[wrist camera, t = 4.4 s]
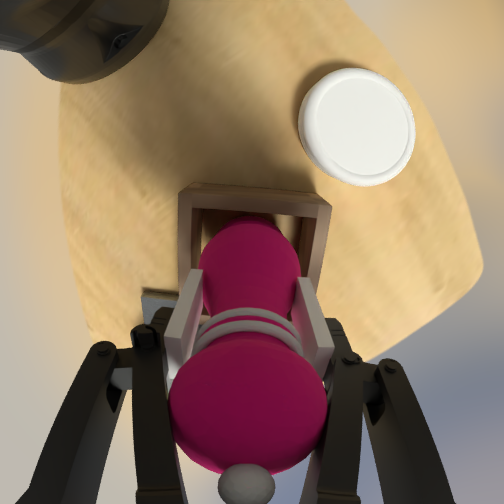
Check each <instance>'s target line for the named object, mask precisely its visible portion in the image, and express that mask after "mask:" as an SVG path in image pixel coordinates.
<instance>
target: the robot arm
mask: <svg viewBox="0 0 504 504" xmlns="http://www.w3.org/2000/svg"><path fill="white" fill-rule="evenodd" d="M168 5H169V0H0V49H1V50H7V51H12V52H17V53H20V54H21V55H22V56H23V57H24V58H25V59H27V60H28V61H29V62H30V63H31V64H32V65H33V66H34V67H36V68H37V69H38V70H39V71H40V72H41V73H42V74H43V75H44V76H46V77H47V78H49V79H52V80H55V81H59V82H64V83H68V84H84V83H89V82H93V81H96V80H99V79H101V78H104V77H106V76H108V75H110V74H112V73H113V72H115V71H117V70H118V69H120V68H121V67H123V66H124V65H125V64H127V63H128V62H129V61H131V60H132V59H133V58H134V57H135V56H136V55H137V54H138V53H139V52H140V51H141V50H142V49H143V48H144V47H145V46H146V45H147V44H148V43H149V41H150V40H151V39H152V38H153V36H154V35H155V34H156V32H157V30H158V29H159V27H160V25H161V24H162V22H163V20H164V17H165V15H166V12H167V9H168ZM202 308H203V270H201V269H191V270H190V272H189V275H188V277H187V279H186V282H185V284H184V287H183V289H182V291H181V294H180V296H179V299H178V301H177V304H176V306H175V308H171V307H161V308H159V309H158V310H157V311H156V312H155V314H154V316H153V318H152V320H151V323H150V324H142V325H138V326H136V327H134V328H133V329H132V330H131V333H130V336H131V341H132V345H133V347H132V348H126V349H117V348H116V346H115V345H114V344H113V343H112V342H109V341H101V342H97V343H96V344H94V345H93V346H92V347H91V348H90V350H89V352H88V354H87V356H86V358H85V360H84V361H83V363H82V365H81V367H80V369H79V371H78V373H77V375H76V377H75V379H74V381H73V383H72V385H71V387H70V389H69V391H68V393H67V395H66V397H65V399H64V402H63V403H62V406H61V408H60V410H59V412H58V414H57V417H56V419H55V421H54V424H53V426H52V428H51V430H50V433H49V435H48V437H47V440H46V442H45V445H44V447H43V450H42V452H41V455H40V458H39V460H38V463H37V466H36V469H35V471H34V474H33V477H32V480H31V483H30V486H29V488H28V489H27V491H26V492H25V493H24V494H23V495H22V496H21V497H20V499H19V500H18V501H17V502H16V503H15V504H96V500H97V495H98V491H99V487H100V483H101V478H102V474H103V470H104V467H105V463H106V459H107V455H108V451H109V448H110V444H111V440H112V437H113V433H114V430H115V427H116V423H117V420H118V417H119V413H120V410H121V407H122V404H123V401H124V398H125V395H126V392H127V390H131V389H132V417H133V440H134V454H135V466H136V476H137V485H138V489H137V491H136V504H188V500H187V496H186V491H185V487H184V483H183V479H182V473H181V469H180V464H179V458H178V453H177V448H176V442H175V440H174V437H173V433H172V428H171V423H170V417H169V410H168V387H167V380H166V378H167V374H168V373H169V378H170V379H174V378H175V376H176V374H177V372H178V370H179V369H180V368H181V367H182V366H183V365H184V363H185V362H186V361H187V360H188V359H189V358H190V356H191V352H192V348H193V344H194V340H195V336H196V332H197V328H198V324H199V320H200V316H201V312H202ZM291 316H292V321H293V326H294V327H295V329H296V330H297V332H298V334H299V336H300V339H301V344H302V349H303V352H304V356H305V360H307V361H308V362H309V363H310V364H311V365H312V366H313V368H314V369H315V371H316V372H317V374H318V375H319V377H320V378H321V380H322V382H323V381H324V385H325V388H324V389H325V392H326V396H327V404H328V413H327V420H326V424H325V428H324V431H323V434H322V437H321V439H320V441H319V443H318V444H317V446H316V447H315V449H314V450H313V451H312V453H311V457H310V462H309V466H308V471H307V475H306V479H305V483H304V487H303V491H302V495H301V499H300V502H299V504H361V500H360V497H359V496H357V482H358V474H359V464H360V452H361V437H362V415H363V414H364V417H365V421H366V425H367V429H368V433H369V437H370V441H371V445H372V450H373V453H374V458H375V463H376V467H377V472H378V476H379V481H380V486H381V491H382V496H383V501H384V504H456V503H455V502H454V499H453V496H452V492H451V489H450V486H449V483H448V479H447V476H446V474H445V471H444V468H443V465H442V462H441V459H440V456H439V453H438V451H437V448H436V445H435V443H434V440H433V438H432V435H431V432H430V430H429V427H428V425H427V422H426V420H425V417H424V415H423V412H422V410H421V408H420V405H419V403H418V401H417V398H416V396H415V394H414V391H413V389H412V387H411V385H410V383H409V381H408V378H407V376H406V374H405V372H404V370H403V367H402V366H401V364H400V363H398V362H397V361H395V360H393V359H388V358H386V359H382V360H381V361H380V362H379V364H378V365H375V364H370V363H366V362H363V361H362V358H361V357H360V356H359V355H358V354H356V353H355V352H353V351H352V349H351V346H350V344H349V342H348V339H347V337H346V334H345V332H344V331H343V327H342V325H341V323H340V322H339V321H338V320H337V319H335V318H324V315H323V313H322V310H321V307H320V305H319V302H318V299H317V296H316V294H315V291H314V289H313V286H312V283H311V281H310V278H306V277H297V283H296V292H295V298H294V301H293V305H292V310H291Z"/></svg>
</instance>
